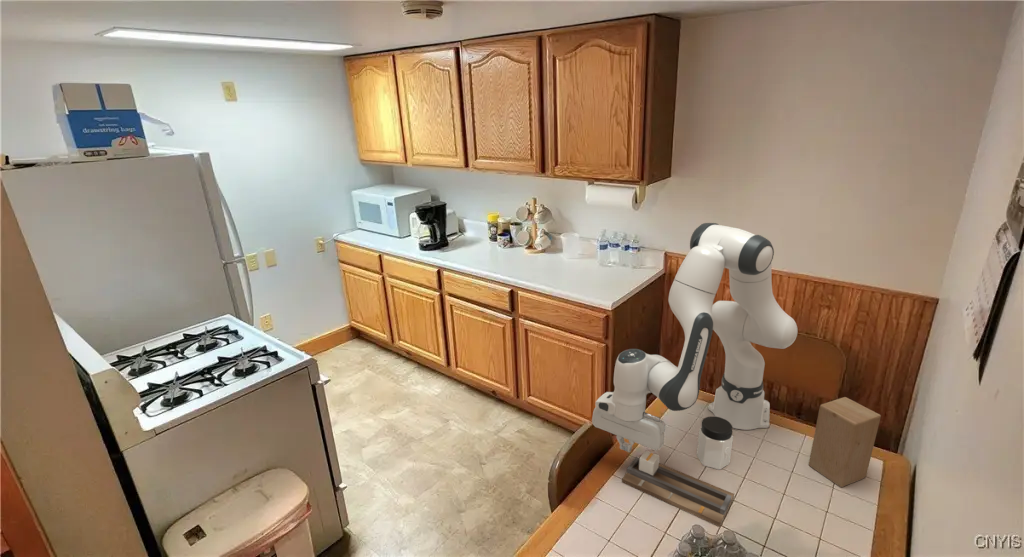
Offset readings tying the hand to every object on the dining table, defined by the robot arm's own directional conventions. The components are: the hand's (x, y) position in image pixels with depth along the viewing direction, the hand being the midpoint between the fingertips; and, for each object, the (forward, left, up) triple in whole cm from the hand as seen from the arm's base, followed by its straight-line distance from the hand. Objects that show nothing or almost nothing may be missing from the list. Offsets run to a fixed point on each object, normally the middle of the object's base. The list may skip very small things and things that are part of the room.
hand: (625, 449), depth 140 cm
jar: (-18, +19, -7) cm, 27 cm away
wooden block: (-33, +48, -7) cm, 59 cm away
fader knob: (0, +7, -5) cm, 8 cm away
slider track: (0, +15, -6) cm, 16 cm away
